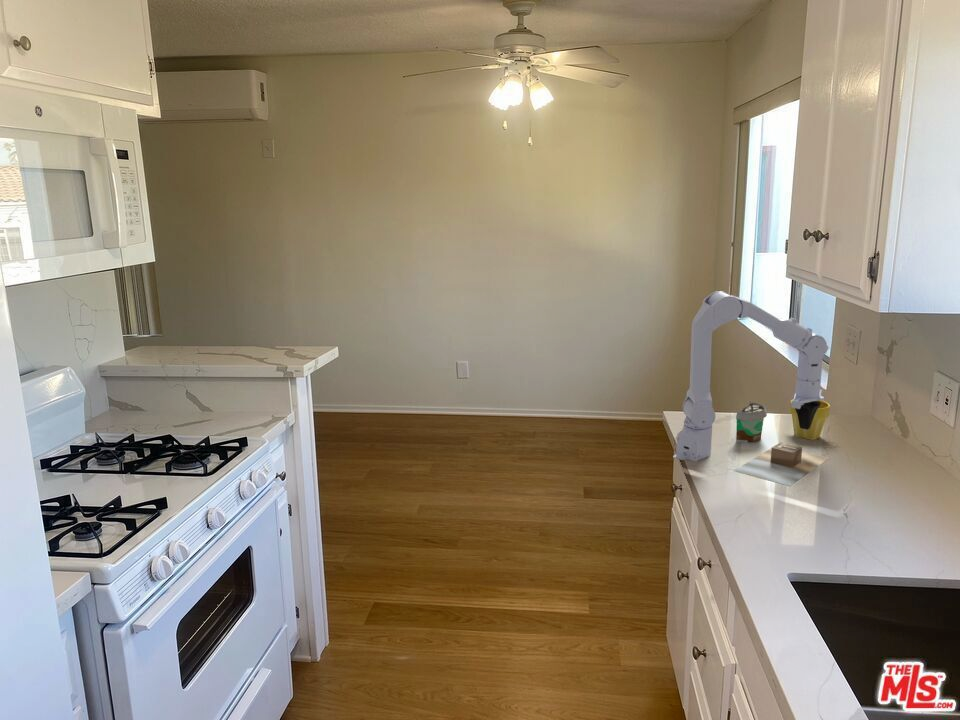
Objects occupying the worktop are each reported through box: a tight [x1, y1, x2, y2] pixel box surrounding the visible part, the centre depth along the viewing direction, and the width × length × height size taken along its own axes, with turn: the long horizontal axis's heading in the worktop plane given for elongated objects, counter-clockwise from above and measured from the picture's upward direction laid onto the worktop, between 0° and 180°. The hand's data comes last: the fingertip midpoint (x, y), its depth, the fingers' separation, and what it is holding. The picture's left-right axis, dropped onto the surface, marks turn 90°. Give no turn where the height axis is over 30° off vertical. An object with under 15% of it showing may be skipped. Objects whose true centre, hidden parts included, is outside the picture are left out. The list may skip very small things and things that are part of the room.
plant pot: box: [789, 398, 831, 440], centre depth 204 cm, size 10×10×10 cm
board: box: [733, 448, 830, 487], centre depth 183 cm, size 24×14×1 cm, turn 134°
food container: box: [735, 400, 768, 444], centre depth 201 cm, size 12×6×10 cm, turn 143°
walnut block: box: [770, 441, 803, 468], centre depth 184 cm, size 6×6×4 cm
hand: (804, 428), depth 190 cm, fingers closed
